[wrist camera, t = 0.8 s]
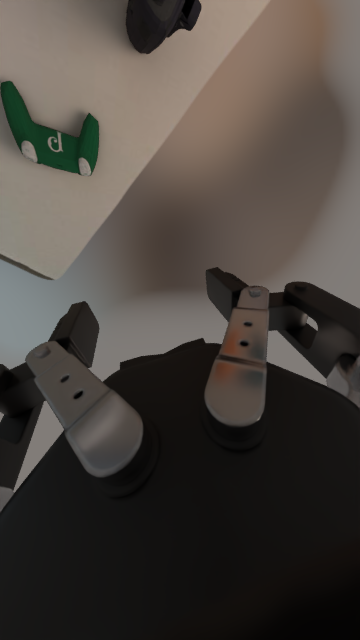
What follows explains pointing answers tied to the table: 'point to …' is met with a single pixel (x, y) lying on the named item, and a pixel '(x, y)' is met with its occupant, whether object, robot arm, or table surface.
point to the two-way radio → (158, 21)
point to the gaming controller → (50, 137)
